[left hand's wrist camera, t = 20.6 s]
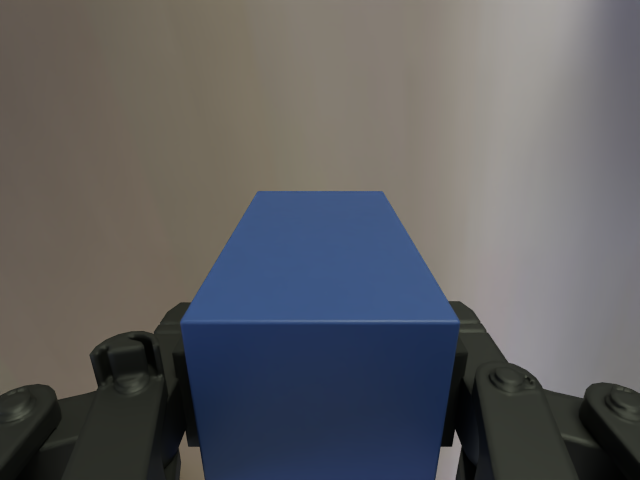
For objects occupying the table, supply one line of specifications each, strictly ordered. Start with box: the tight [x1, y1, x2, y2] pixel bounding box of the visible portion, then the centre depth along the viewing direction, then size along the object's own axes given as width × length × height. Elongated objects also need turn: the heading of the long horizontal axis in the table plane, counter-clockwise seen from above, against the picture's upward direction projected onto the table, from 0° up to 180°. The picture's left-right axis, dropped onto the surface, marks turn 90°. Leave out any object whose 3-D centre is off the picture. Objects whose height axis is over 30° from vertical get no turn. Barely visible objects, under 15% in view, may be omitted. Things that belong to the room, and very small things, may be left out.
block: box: [180, 191, 460, 480], centre depth 11 cm, size 5×6×9 cm
